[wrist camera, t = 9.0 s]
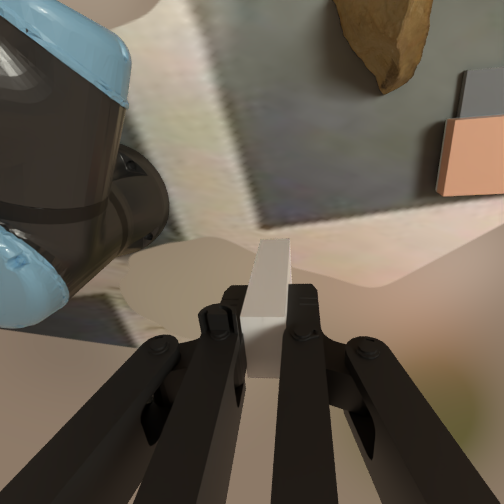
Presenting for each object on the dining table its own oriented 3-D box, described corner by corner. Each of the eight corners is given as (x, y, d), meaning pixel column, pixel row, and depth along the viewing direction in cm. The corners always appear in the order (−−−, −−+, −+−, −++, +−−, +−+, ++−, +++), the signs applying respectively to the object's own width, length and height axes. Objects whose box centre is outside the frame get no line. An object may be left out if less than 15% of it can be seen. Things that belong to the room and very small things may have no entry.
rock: (437, 95, 34) (467, -33, 28) (401, 109, 29) (428, -42, 23) (343, 90, 40) (353, -15, 35) (301, 101, 35) (304, -19, 30)
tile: (443, 196, 37) (543, 191, 35) (455, 120, 34) (566, 111, 32) (435, 190, 39) (529, 186, 37) (446, 118, 36) (549, 110, 34)
